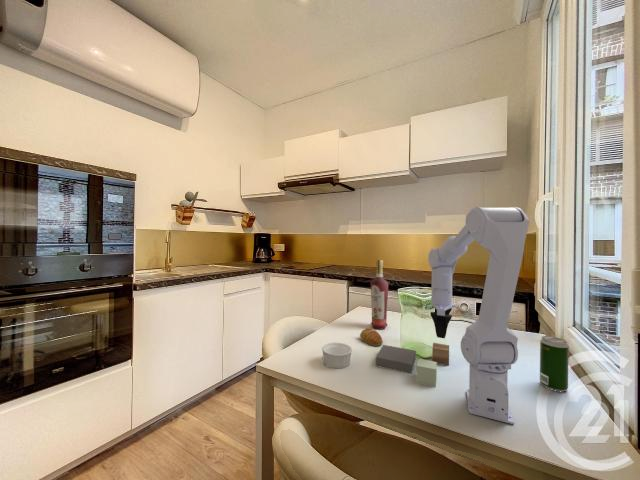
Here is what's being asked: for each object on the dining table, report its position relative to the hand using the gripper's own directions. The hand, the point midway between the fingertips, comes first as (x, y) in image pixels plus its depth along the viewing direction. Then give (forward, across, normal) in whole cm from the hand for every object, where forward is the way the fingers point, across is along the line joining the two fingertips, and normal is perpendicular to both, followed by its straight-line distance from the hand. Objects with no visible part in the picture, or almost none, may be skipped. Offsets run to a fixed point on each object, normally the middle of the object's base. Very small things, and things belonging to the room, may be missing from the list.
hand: (441, 333), depth 81 cm
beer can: (+9, -3, -26) cm, 28 cm away
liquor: (+9, +22, +24) cm, 34 cm away
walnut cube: (+8, 0, 0) cm, 8 cm away
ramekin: (+9, -15, +28) cm, 33 cm away
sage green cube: (+8, -14, +3) cm, 17 cm away
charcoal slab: (+9, -7, +12) cm, 16 cm away
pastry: (+9, +6, +23) cm, 25 cm away
